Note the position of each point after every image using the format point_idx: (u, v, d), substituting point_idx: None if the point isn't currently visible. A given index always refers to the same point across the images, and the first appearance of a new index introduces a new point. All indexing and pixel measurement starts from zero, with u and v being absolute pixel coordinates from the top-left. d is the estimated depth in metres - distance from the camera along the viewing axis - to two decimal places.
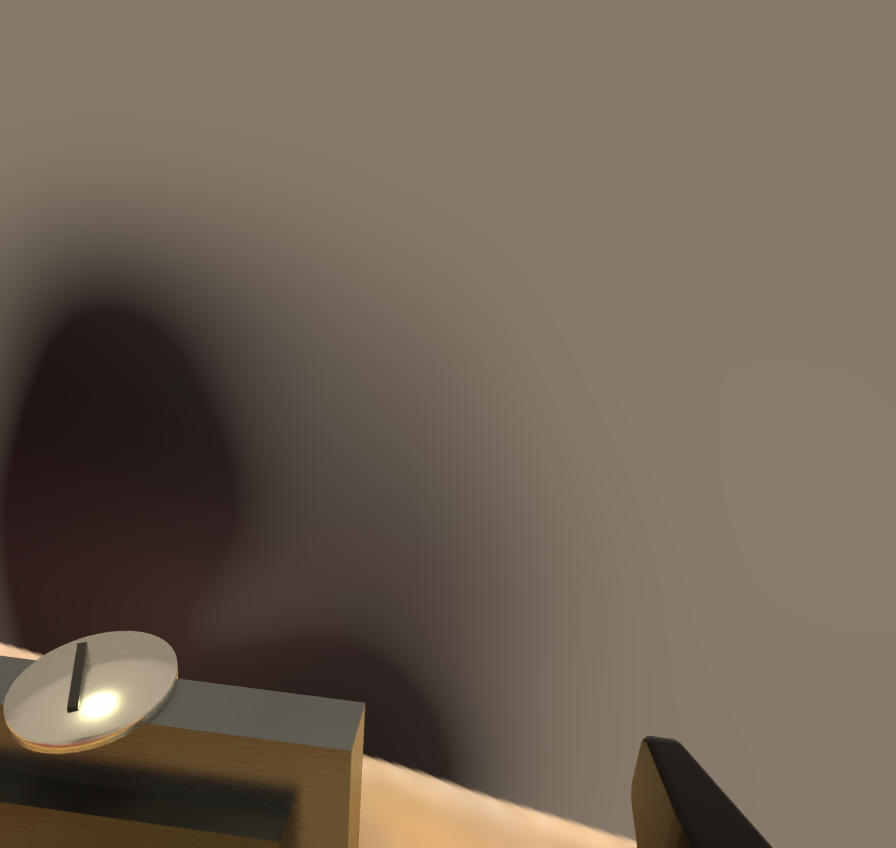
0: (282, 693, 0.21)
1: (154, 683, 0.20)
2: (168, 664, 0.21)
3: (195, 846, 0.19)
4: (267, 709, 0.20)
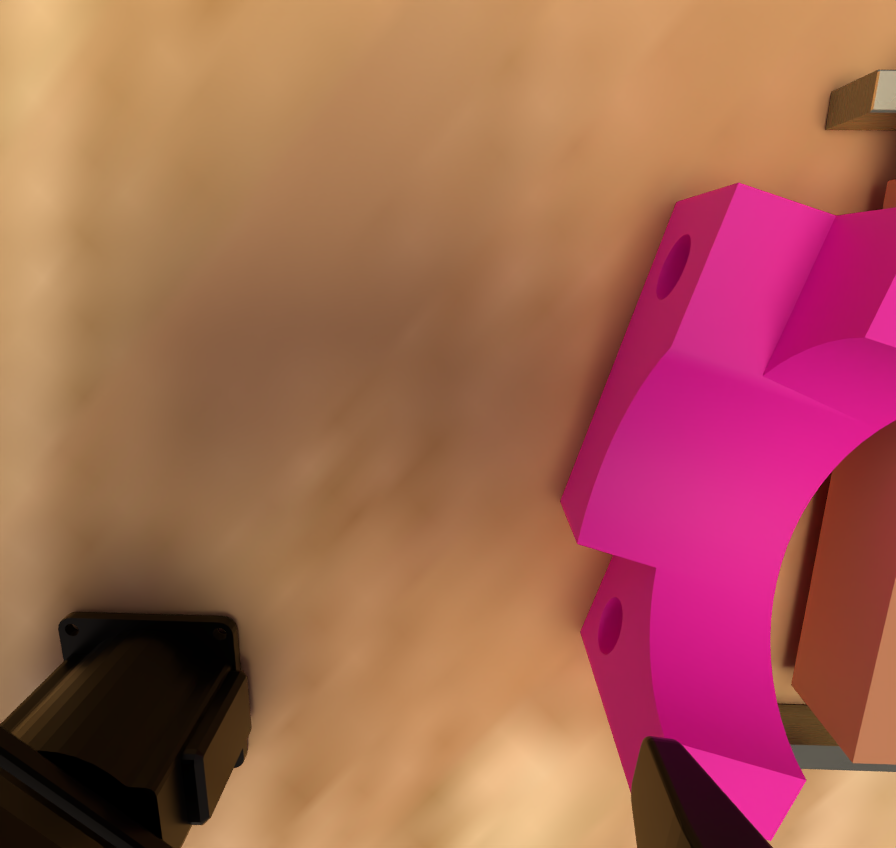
0: None
1: None
2: None
3: None
4: None
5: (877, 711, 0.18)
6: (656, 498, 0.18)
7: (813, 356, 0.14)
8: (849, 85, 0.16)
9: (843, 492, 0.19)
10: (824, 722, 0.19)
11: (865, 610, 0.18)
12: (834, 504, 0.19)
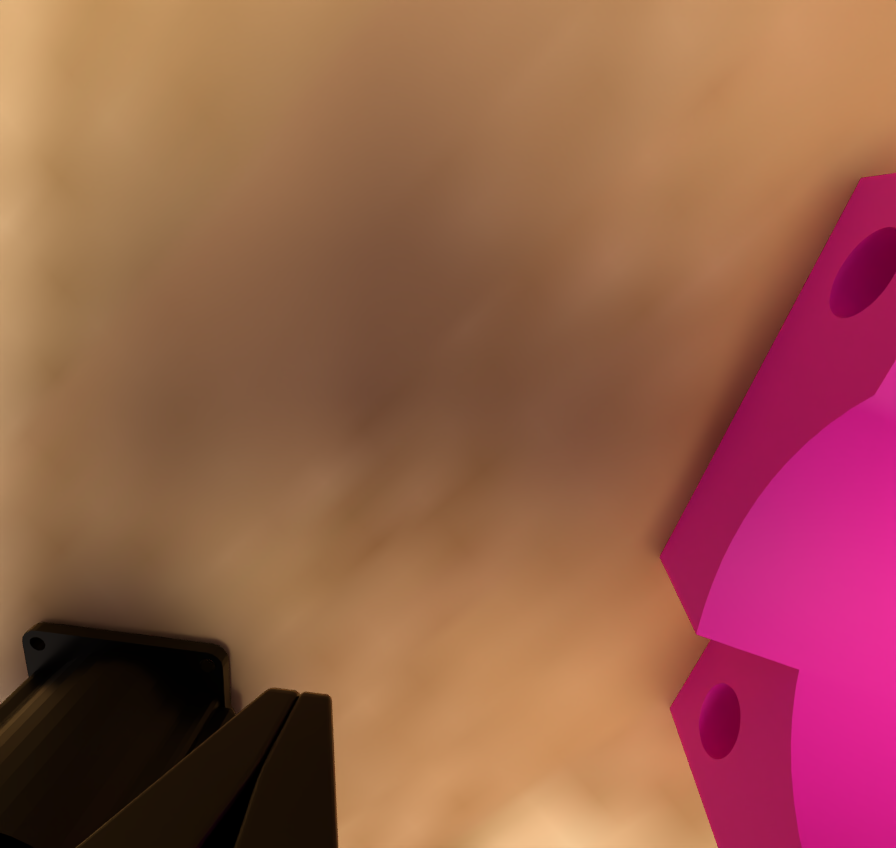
0: None
1: None
2: None
3: None
4: None
5: None
6: (805, 579, 0.13)
7: None
8: None
9: None
10: None
11: None
12: None
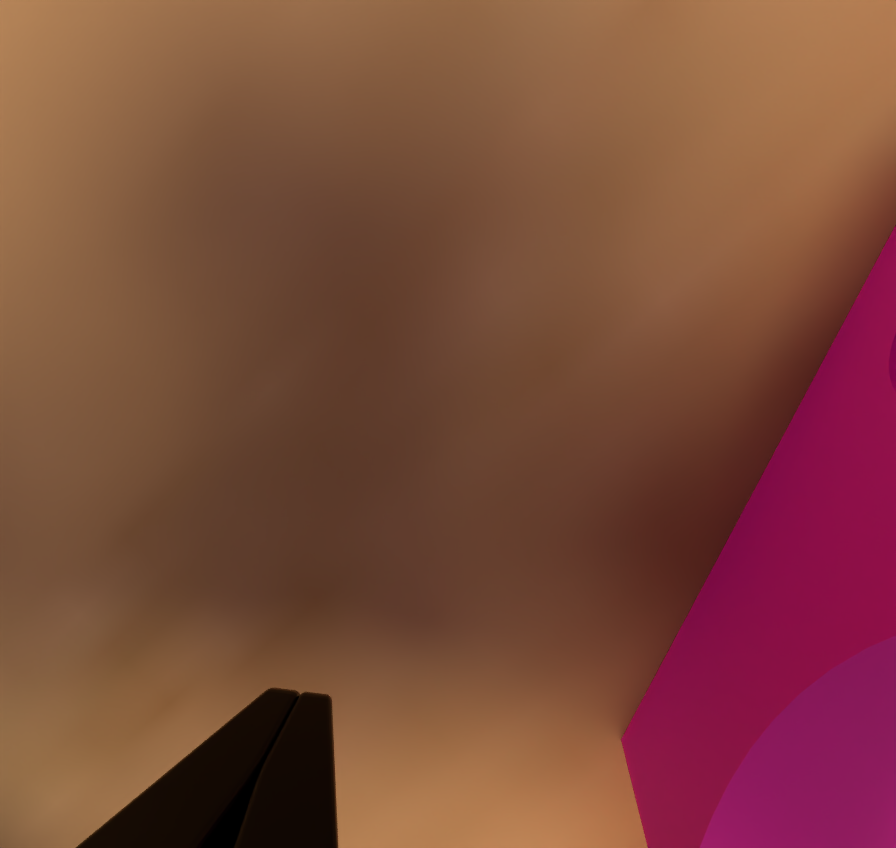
0: None
1: None
2: None
3: None
4: None
5: None
6: (856, 844, 0.08)
7: None
8: None
9: None
10: None
11: None
12: None
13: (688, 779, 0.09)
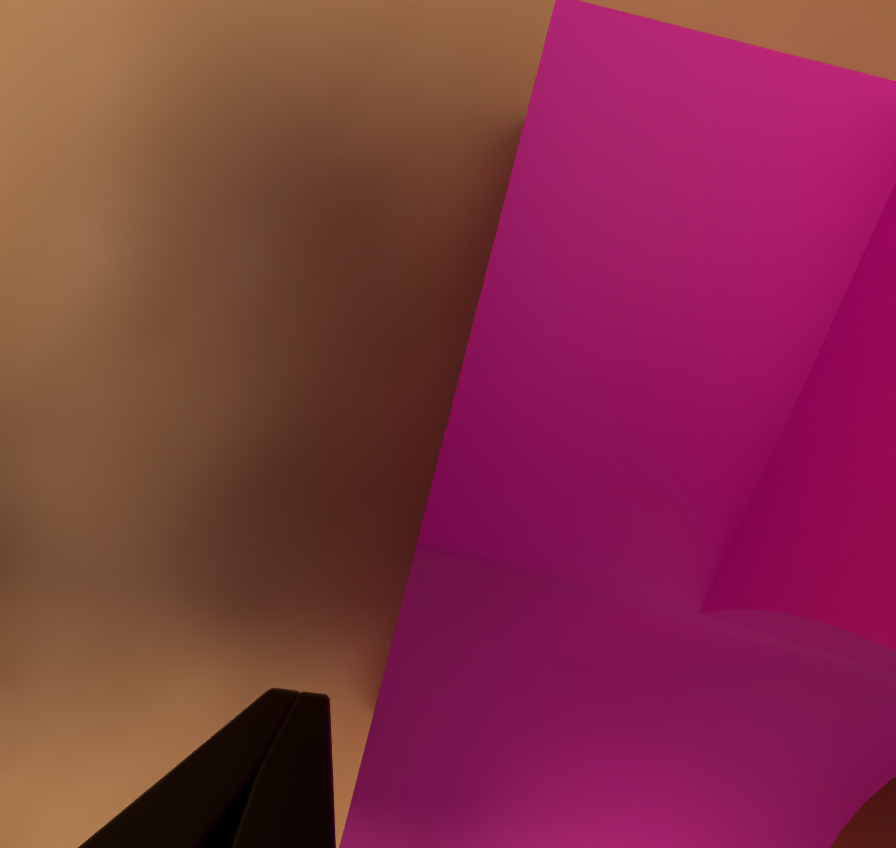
0: None
1: None
2: None
3: None
4: None
5: None
6: (498, 797, 0.08)
7: None
8: None
9: None
10: None
11: None
12: None
13: None
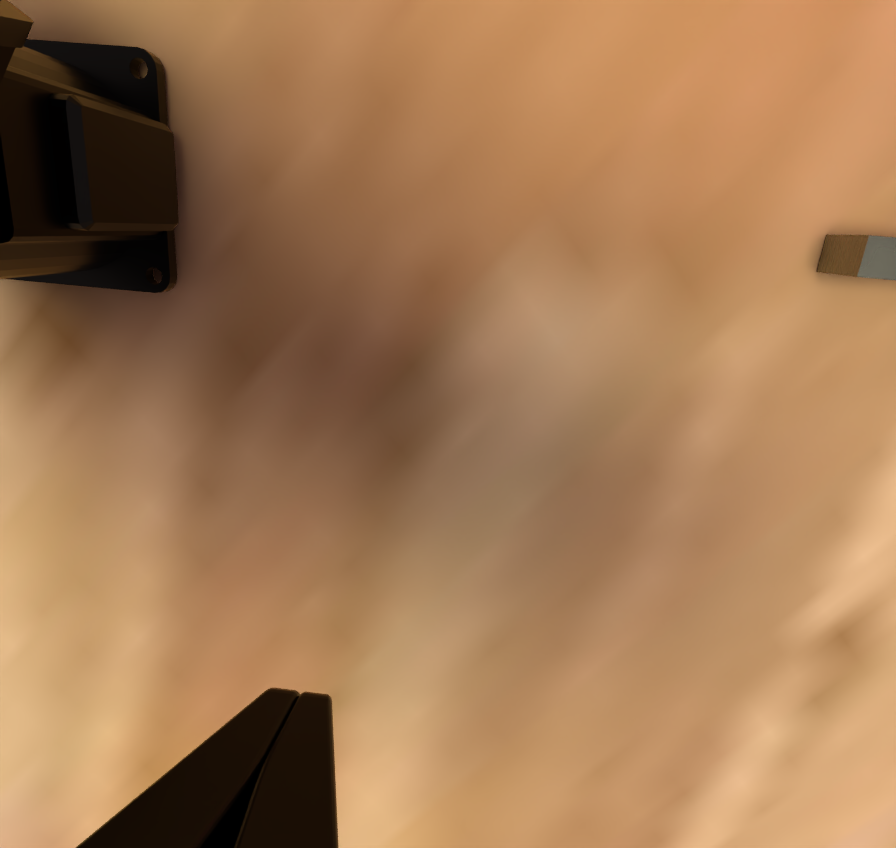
0: None
1: None
2: None
3: None
4: None
5: None
6: None
7: None
8: None
9: None
10: None
11: None
12: None
13: None
